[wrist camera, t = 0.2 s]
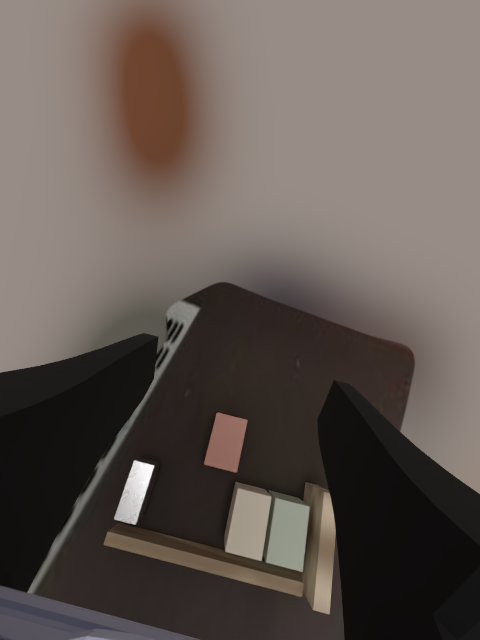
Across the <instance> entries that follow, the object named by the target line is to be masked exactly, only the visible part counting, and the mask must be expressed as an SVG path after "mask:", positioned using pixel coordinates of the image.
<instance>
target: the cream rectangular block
mask: <svg viewBox="0 0 480 640" xmlns="http://www.w3.org/2000/svg"><path fill="white" fill-rule="evenodd" d="M270 504H271V496H270V494H269V493H268V492H267V491H266V490H265V489H262V488H258V487H254V486H250V485H247V484H243V483H239V482H235V486H234V491H233V496H232V500H231V505H230V510H229V515H228V520H227V525H226V529H225V534H224V542H225V552H228V553H232V554H236V555H240V556H244V557H247V558H251V559H255V560H259V561H262V555H263V548H264V542H265V536H266V529H267V523H268V516H269V510H270Z"/></svg>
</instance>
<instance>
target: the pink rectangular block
mask: <svg viewBox="0 0 480 640" xmlns="http://www.w3.org/2000/svg"><path fill="white" fill-rule="evenodd" d="M247 421H248V420H245V419H241V418H237V417H233V416H229V415H225V414H221V413H217V414H216V418H215V422H214V426H213V430H212V434H211V438H210V442H209V446H208V450H207V454H206V458H205V462H204V465H208V466H212V467H216V468H220V469H224V470H228V471H232V472H236V473H237V469H238V464H239V460H240V455H241V450H242V445H243V440H244V435H245V431H246V426H247Z"/></svg>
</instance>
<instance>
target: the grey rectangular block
mask: <svg viewBox="0 0 480 640" xmlns="http://www.w3.org/2000/svg"><path fill="white" fill-rule="evenodd" d="M159 466H160V462H157V461H153V460H149V459H145V458H140V459H137V460H134V462H133V465H132V468H131V471H130V474H129V477H128V480H127V483H126V486H125V489H124V491H123V494H122V497H121V500H120V503H119V506H118V509H117V512H116V515H115V518H114V519H115V520H119V521H122V522H126V523H130V524H134V525H136V524H137V523H138V522H139V521H140V519H141V518H142V517H143V516H144V514H145V511H146V508H147V504H148V501H149V498H150V495H151V491H152V488H153V485H154V482H155V478H156V475H157V472H158V469H159Z"/></svg>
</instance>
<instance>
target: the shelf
mask: <svg viewBox="0 0 480 640" xmlns="http://www.w3.org/2000/svg"><path fill="white" fill-rule="evenodd" d="M303 502H304V503H306V504H307V505H308V506H309V507H310V508H309V518H308V527H307V536H306V545H305V554H304V564H303V572H300V571H297V570H293V569H289V568H285V567H281V566H277V565H274V564H270V563H266V561H265V560H262V561H259V560H255V559H251V558H247V557H244V556H240V555H236V554H232V553H228V552H225V550H223V549H219V548H215V547H211V546H207V545H203V544H200V543H196V542H192V541H188V540H184V539H180V538H177V537H173V536H169V535H165V534H161V533H157V532H154V531H150V530H146V529H142V528H138V527H134V526H131V525H127V524H123V523H119V522H118V523H117V524H116V525H115V526H114V527H113V528H111V529H110V530H109V531H108V533H107V536H106V539H105V542H104V544H103V545H106V546H110V547H114V548H118V549H121V550H125V551H129V552H133V553H137V554H141V555H144V556H148V557H152V558H156V559H160V560H163V561H167V562H171V563H175V564H179V565H182V566H186V567H190V568H194V569H198V570H201V571H205V572H209V573H213V574H217V575H220V576H224V577H228V578H232V579H236V580H239V581H243V582H247V583H251V584H255V585H258V586H262V587H266V588H270V589H274V590H277V591H281V592H285V593H289V594H293V595H296V596H300V597H302V594H303V592H304V594H305V596H306V598H307V600H308V601H309V603H310V605H311V607H312V609H313V610H315V611H319V612H323V613H326V614H330V600H331V587H332V573H333V560H334V546H335V533H336V529H335V520H334V513H333V507H332V502H331V497H330V492H329V491H328V490H326V489H324V488H322V487H320V486H318V485H315V484H311V483H307V482H305V490H304V498H303Z"/></svg>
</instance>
